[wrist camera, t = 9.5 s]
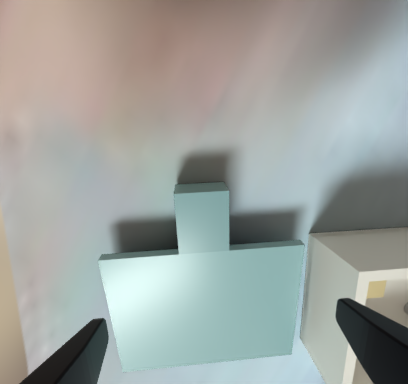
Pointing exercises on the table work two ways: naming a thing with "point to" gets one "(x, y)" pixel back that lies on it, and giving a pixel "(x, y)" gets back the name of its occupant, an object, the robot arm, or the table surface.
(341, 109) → the table surface
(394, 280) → the tub
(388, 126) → the table surface
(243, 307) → the lid
